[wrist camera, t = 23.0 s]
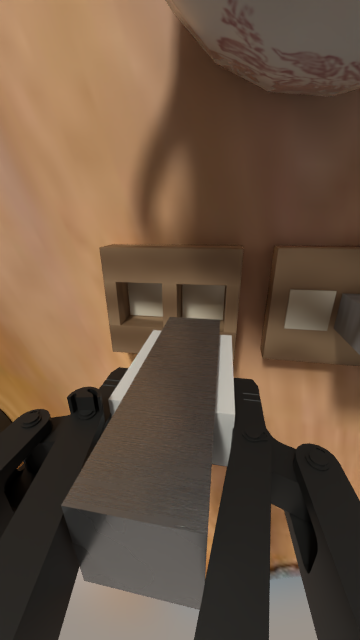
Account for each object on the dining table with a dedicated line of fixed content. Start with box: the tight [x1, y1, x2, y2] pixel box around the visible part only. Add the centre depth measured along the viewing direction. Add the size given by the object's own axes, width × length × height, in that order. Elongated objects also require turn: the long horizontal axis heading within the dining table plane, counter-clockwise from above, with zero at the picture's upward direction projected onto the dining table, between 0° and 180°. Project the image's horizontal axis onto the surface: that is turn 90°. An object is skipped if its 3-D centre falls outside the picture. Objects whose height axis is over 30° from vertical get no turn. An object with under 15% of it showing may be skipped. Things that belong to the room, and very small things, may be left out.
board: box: [261, 246, 360, 366], centre depth 20 cm, size 11×11×10 cm
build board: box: [100, 244, 244, 361], centre depth 25 cm, size 11×13×3 cm
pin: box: [61, 317, 220, 610], centre depth 12 cm, size 3×3×12 cm
